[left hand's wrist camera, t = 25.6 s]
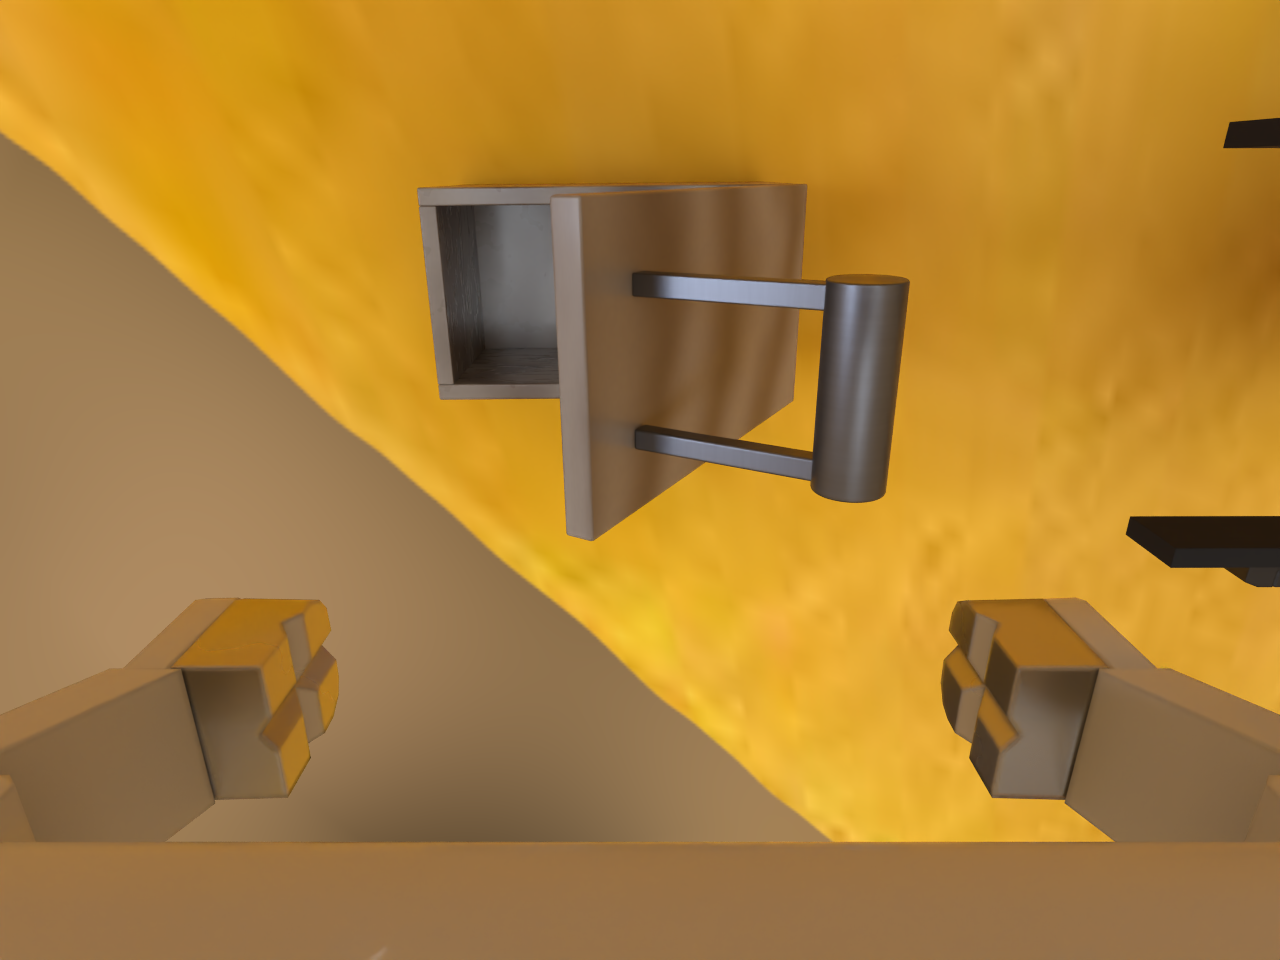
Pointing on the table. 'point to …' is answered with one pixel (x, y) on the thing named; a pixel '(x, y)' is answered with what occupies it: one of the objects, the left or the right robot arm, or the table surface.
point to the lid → (710, 347)
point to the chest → (499, 284)
